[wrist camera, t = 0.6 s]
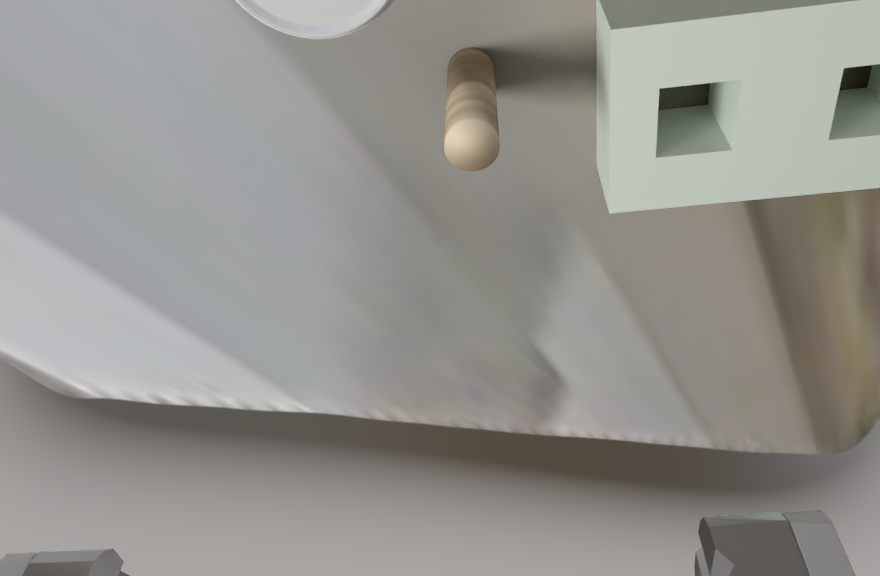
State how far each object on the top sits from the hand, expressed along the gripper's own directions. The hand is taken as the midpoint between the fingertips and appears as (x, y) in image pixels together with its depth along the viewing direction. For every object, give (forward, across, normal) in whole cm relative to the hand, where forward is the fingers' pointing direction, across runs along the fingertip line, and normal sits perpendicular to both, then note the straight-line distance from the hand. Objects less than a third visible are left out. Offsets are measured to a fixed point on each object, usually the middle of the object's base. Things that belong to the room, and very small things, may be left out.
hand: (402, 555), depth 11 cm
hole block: (+41, -18, +12) cm, 46 cm away
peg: (+41, 0, +10) cm, 42 cm away
